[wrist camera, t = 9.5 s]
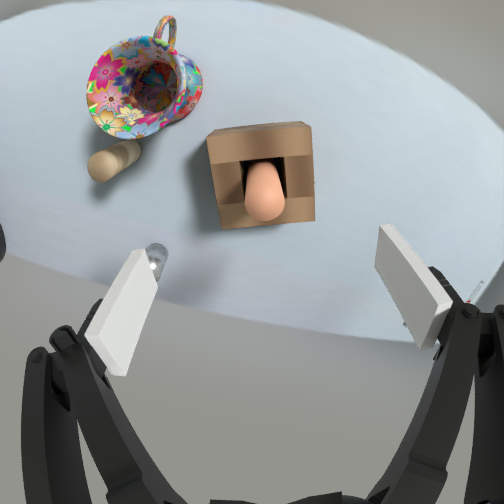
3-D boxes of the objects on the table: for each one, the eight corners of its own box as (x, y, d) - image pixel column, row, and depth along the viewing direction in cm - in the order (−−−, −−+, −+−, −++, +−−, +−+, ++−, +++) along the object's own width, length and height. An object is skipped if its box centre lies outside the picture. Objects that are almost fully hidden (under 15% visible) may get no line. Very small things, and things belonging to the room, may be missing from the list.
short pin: (152, 264, 40) (143, 285, 36) (143, 246, 39) (132, 266, 34) (171, 259, 40) (163, 280, 36) (163, 241, 38) (153, 261, 34)
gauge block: (226, 208, 36) (221, 229, 31) (214, 129, 31) (206, 137, 25) (306, 200, 35) (315, 220, 30) (301, 121, 30) (310, 126, 25)
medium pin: (122, 164, 32) (91, 185, 26) (117, 141, 31) (84, 156, 24) (144, 159, 32) (116, 179, 25) (138, 135, 31) (109, 149, 24)
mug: (192, 134, 31) (165, 152, 22) (123, 115, 29) (76, 128, 20) (228, 41, 25) (215, 18, 16) (154, 25, 23) (114, 4, 14)
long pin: (249, 179, 34) (247, 222, 23) (246, 154, 32) (242, 185, 22) (276, 177, 34) (285, 219, 23) (274, 152, 32) (283, 182, 22)
